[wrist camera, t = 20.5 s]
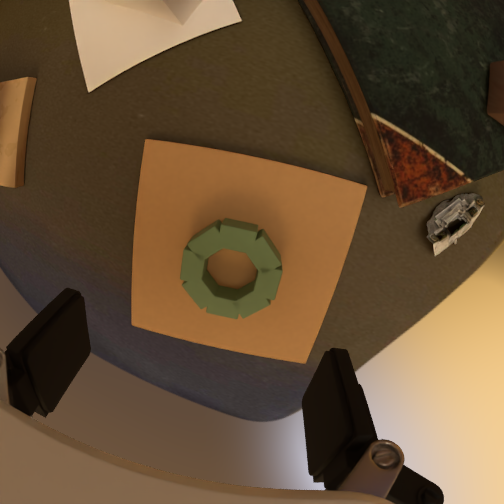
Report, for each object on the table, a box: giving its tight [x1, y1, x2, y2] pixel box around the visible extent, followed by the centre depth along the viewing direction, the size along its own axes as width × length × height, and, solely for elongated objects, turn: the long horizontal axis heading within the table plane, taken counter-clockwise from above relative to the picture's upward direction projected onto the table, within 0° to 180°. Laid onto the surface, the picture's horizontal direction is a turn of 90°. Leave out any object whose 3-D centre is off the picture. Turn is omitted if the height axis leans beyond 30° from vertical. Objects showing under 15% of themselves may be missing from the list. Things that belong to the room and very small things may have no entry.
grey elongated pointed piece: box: [427, 193, 484, 256], centre depth 17 cm, size 6×2×3 cm
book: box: [298, 0, 504, 208], centre depth 11 cm, size 17×4×25 cm
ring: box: [180, 218, 283, 319], centre depth 18 cm, size 6×6×2 cm
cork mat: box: [132, 139, 367, 363], centre depth 19 cm, size 14×14×1 cm
